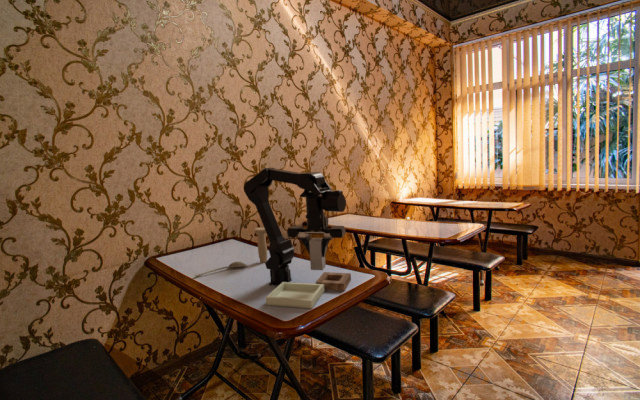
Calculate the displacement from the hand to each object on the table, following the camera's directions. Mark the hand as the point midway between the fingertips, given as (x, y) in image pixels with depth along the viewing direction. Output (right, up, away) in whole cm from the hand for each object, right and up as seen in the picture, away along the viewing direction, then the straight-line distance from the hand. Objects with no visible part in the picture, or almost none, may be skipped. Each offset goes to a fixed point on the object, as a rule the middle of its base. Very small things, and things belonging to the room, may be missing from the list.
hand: (317, 256), depth 114 cm
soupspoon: (-40, -11, +28) cm, 50 cm away
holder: (+6, -11, +5) cm, 13 cm away
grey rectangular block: (0, -4, +1) cm, 4 cm away
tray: (-7, -13, -4) cm, 15 cm away
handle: (-24, -9, +37) cm, 45 cm away
